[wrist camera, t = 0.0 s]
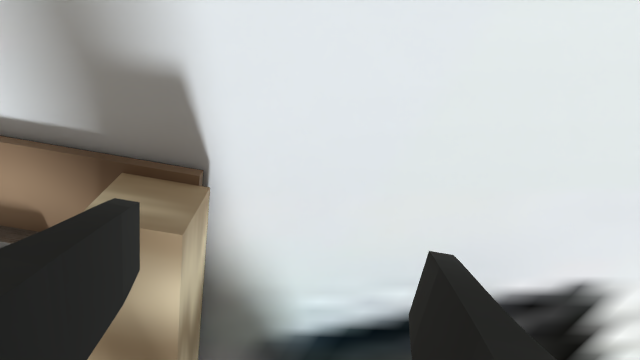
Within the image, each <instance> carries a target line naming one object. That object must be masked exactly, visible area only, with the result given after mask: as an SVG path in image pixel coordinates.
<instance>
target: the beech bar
mask: <svg viewBox="0 0 640 360" xmlns="http://www.w3.org/2000/svg"><path fill="white" fill-rule="evenodd" d="M209 196H210V188H209V187H203V186H197V185H191V184H185V183H179V182H173V181H168V180H162V179H156V178H150V177H144V176H138V175H132V174H126V173H121V174H120V175H119V176H118V177H117V178H116V179H115V180H114V181H113V182H112V183H111V184H110V185H109V186H108V187H107V188H106V189H105V190H104V191H103V192H102V193H101V194H100V195H99V196H98V197H97V198H96V199H95V200H94V201H93V202H92V203H91V204H90V205H89V206H88V207H87V208H86V209H85V210H84V211H86V210H88V209H90V208H92V207H95V206H97V205H99V204H101V203H104V202H106V201H108V200H111V199H114V198H117V199H123V200H129V201H135V202H140V271H139V273H138V275H137V277H136V279H135V282H134V284H133V286H132V288H131V290H130V292H129V294H128V296H127V298H126V300H125V302H124V304H123V306H122V308H121V309H120V311H119V312H118V314H117V315H116V317H115V318H114V320H113V321H112V323H111V325H110V326H109V328H108V329H107V331H106V332H105V334H104V335H103V337H102V338H101V340H100V341H99V343H98V344H97V346H96V347H95V349H94V350H93V352H92V353H91V355H90V356H89V358H88V359H87V360H198V352H199V338H200V324H201V310H202V295H203V281H204V267H205V253H206V238H207V224H208V210H209ZM84 211H83V212H84Z"/></svg>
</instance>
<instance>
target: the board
mask: <svg viewBox="0 0 640 360" xmlns="http://www.w3.org/2000/svg"><path fill="white" fill-rule="evenodd" d="M121 173H126V174H132V175H138V176H144V177H150V178H156V179H162V180H168V181H173V182H179V183H185V184H191V185H197V186H202V184H203V170H198V169H192V168H186V167H180V166H174V165H168V164H162V163H157V162H151V161H145V160H139V159H133V158H127V157H121V156H116V155H110V154H104V153H98V152H92V151H86V150H80V149H75V148H69V147H63V146H57V145H51V144H45V143H40V142H34V141H28V140H22V139H16V138H10V137H4V136H0V225H1V226H7V227H13V228H19V229H25V230H31V231H37V232H41V231H43V230H45V229H47V228H50V227H52V226H54V225H56V224H58V223H60V222H63V221H65V220H67V219H69V218H71V217H73V216H75V215H78V214H80V213H82V212H83V211H84V210H85V209H86V208H87V207H88V206H89V205H90V204H91V203H92V202H93V201H94V200H95V199H96V198H97V197H98V196H99V195H100V194H101V193H102V192H103V191H104V190H105V189H106V188H107V187H108V186H109V185H110V184H111V183H112V182H113V181H114V180H115V179H116V178H117V177H118V176H119V175H120V174H121Z"/></svg>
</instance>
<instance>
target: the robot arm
mask: <svg viewBox="0 0 640 360" xmlns="http://www.w3.org/2000/svg"><path fill="white" fill-rule="evenodd" d="M139 271H140V202H135V201H129V200H123V199H117V198H114V199H111V200H108V201H106V202H104V203H101V204H99V205H97V206H95V207H92V208H90V209H88V210H86V211H84V212H82V213H80V214H78V215H75V216H73V217H71V218H69V219H67V220H65V221H63V222H60V223H58V224H56V225H54V226H52V227H50V228H47V229H45V230H43V231H41V232H38V233H36V234H34V235H31V236H29V237H26V238H24V239H22V240H19V241H17V242H14V243H12V244H10V245H7V246H5V247H2V248H0V360H87V359H88V358H89V356H90V355H91V353H92V352H93V350H94V349H95V347H96V346H97V344H98V343H99V341H100V340H101V338H102V337H103V335H104V334H105V332H106V331H107V329H108V328H109V326H110V325H111V323H112V321H113V320H114V318H115V317H116V315H117V314H118V312H119V311H120V309H121V308H122V306H123V304H124V302H125V300H126V298H127V296H128V294H129V292H130V290H131V288H132V286H133V284H134V282H135V279H136V277H137V275H138V273H139ZM409 328H410V345H411V355H412V360H557V359H555V358H554V357H553V356H552V355H551V354H549V353H548V352H547V351H546V350H545V349H544V348H543V347H542V346H540V345H539V344H538V343H537V342H536V341H535V340H534V339H533V338H532V337H531V336H530V335H529V334H528V333H527V332H526V331H525V330H524V329H523V328H522V327H520V326H519V325H518V324H517V323H516V322H515V321H514V320H513V319H512V318H511V317H510V316H509V315H508V314H507V312H506V311H505V310H504V309H503V308H502V307H501V306H500V305H499V304H498V303H497V302H496V301H495V300H494V299H493V298H492V297H491V295H490V294H489V293H488V292H487V291H486V290H485V289H484V288H483V287H482V286H481V284H480V283H479V282H478V281H477V280H476V279H475V278H474V277H473V275H472V274H471V273H470V272H469V271H468V270H467V269H466V268H465V267H464V266H463V264H462V263H461V262H460V261H459V260H458V259H457V258H456V257H455V256H454V255H450V254H444V253H438V252H432V251H429V253H428V256H427V259H426V262H425V266H424V269H423V272H422V275H421V278H420V281H419V284H418V288H417V291H416V294H415V297H414V300H413V303H412V306H411V309H410V313H409Z"/></svg>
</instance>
